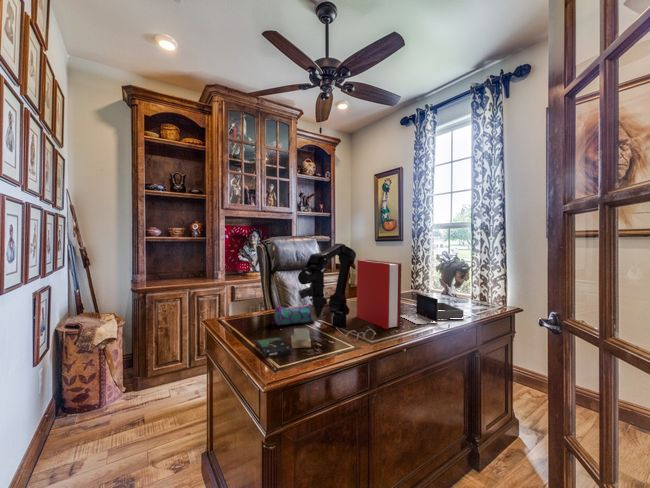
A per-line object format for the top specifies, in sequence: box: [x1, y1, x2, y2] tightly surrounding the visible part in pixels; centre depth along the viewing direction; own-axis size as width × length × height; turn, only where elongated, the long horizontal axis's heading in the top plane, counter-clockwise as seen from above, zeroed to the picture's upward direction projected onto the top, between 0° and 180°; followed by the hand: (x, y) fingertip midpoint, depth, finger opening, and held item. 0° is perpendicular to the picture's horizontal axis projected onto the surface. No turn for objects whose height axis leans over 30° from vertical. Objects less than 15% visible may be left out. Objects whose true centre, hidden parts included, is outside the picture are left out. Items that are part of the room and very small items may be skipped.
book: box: [356, 259, 402, 330], centre depth 158 cm, size 27×8×32 cm, turn 30°
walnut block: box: [312, 305, 324, 321], centre depth 135 cm, size 4×4×6 cm
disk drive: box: [256, 336, 293, 359], centre depth 117 cm, size 10×3×15 cm
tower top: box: [293, 327, 311, 340], centre depth 123 cm, size 6×6×3 cm
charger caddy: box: [437, 302, 464, 319], centre depth 173 cm, size 18×21×5 cm
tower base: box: [290, 334, 312, 349], centre depth 123 cm, size 8×8×3 cm
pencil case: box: [274, 303, 316, 326], centre depth 153 cm, size 21×9×10 cm, turn 117°
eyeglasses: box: [333, 323, 377, 342], centre depth 137 cm, size 16×19×5 cm
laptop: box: [401, 292, 439, 325], centre depth 163 cm, size 18×12×13 cm
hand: (317, 316), depth 135 cm, fingers closed on walnut block, 4 cm apart
